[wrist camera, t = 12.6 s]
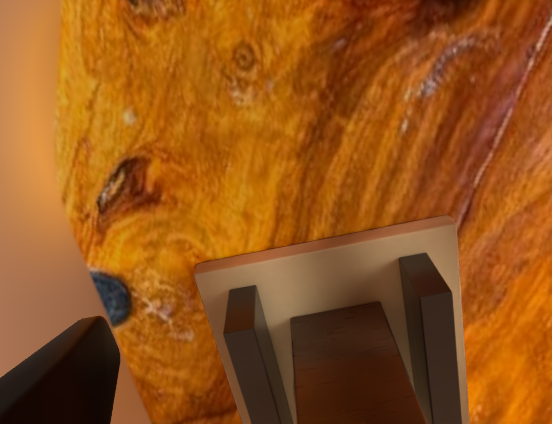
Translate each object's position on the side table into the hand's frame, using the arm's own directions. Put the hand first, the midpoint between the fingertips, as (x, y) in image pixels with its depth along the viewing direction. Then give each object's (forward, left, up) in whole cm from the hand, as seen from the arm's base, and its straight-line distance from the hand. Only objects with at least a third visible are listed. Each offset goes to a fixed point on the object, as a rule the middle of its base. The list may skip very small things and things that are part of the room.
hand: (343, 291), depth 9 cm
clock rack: (0, -11, -11) cm, 15 cm away
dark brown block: (0, -11, -10) cm, 15 cm away
